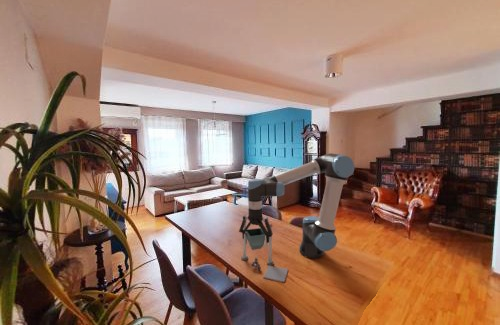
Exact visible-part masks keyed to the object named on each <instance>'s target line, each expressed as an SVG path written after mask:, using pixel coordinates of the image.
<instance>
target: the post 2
mask: <svg viewBox="0 0 500 325" xmlns="http://www.w3.org/2000/svg"><path fill="white" fill-rule="evenodd" d="M269 225H270V228H271V230H272V231H273V226H274V225H273V224H272V223H271V222H269ZM267 250H268V258H267V261H266V265H267V266H273V265H274V261H273V235H272V236H271V237H269V243H268V247H267Z"/></svg>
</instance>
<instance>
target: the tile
mask: <svg viewBox="0 0 500 325" xmlns="http://www.w3.org/2000/svg"><path fill="white" fill-rule="evenodd" d="M288 271H289V268H283V267H278V266H273V265H272V266H269V265H267V269H266V271H265V273H264V275H263V279H266V280H271V281H275V282H279V283H285V282H286V278H287V275H288Z"/></svg>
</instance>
